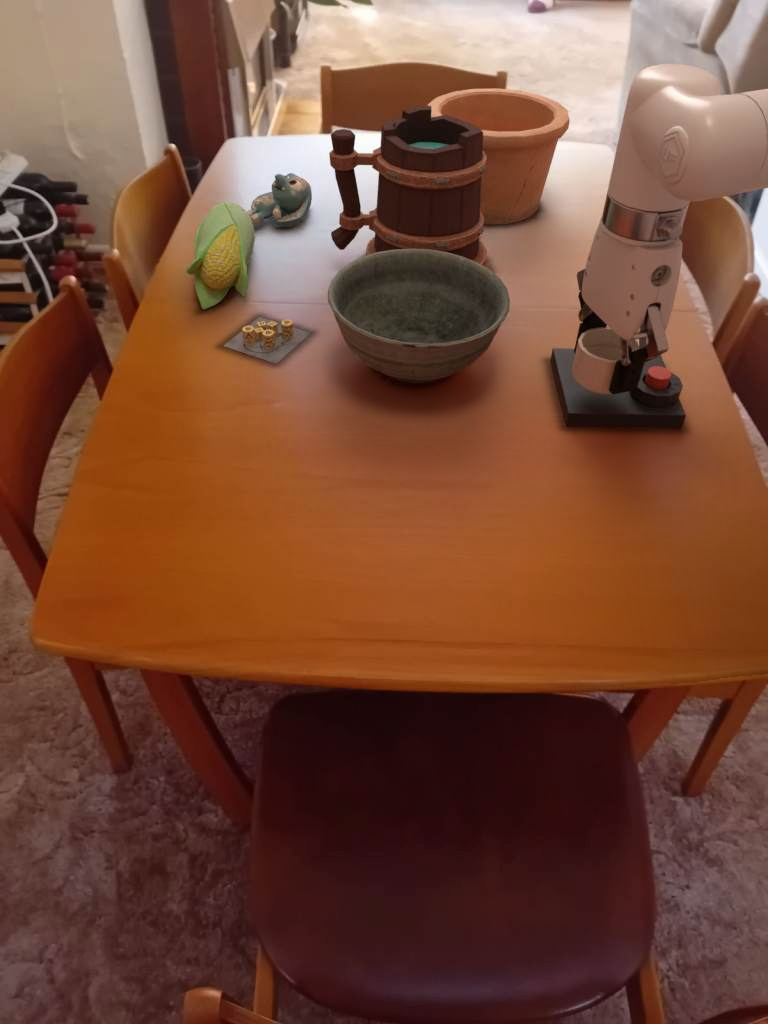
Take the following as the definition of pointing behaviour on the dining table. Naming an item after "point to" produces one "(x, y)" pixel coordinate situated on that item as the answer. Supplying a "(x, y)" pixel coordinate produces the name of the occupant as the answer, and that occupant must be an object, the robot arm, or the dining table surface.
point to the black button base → (616, 399)
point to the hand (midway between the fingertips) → (604, 370)
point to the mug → (416, 186)
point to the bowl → (418, 311)
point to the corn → (222, 253)
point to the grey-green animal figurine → (283, 201)
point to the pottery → (509, 145)
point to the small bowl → (597, 358)
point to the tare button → (658, 378)
